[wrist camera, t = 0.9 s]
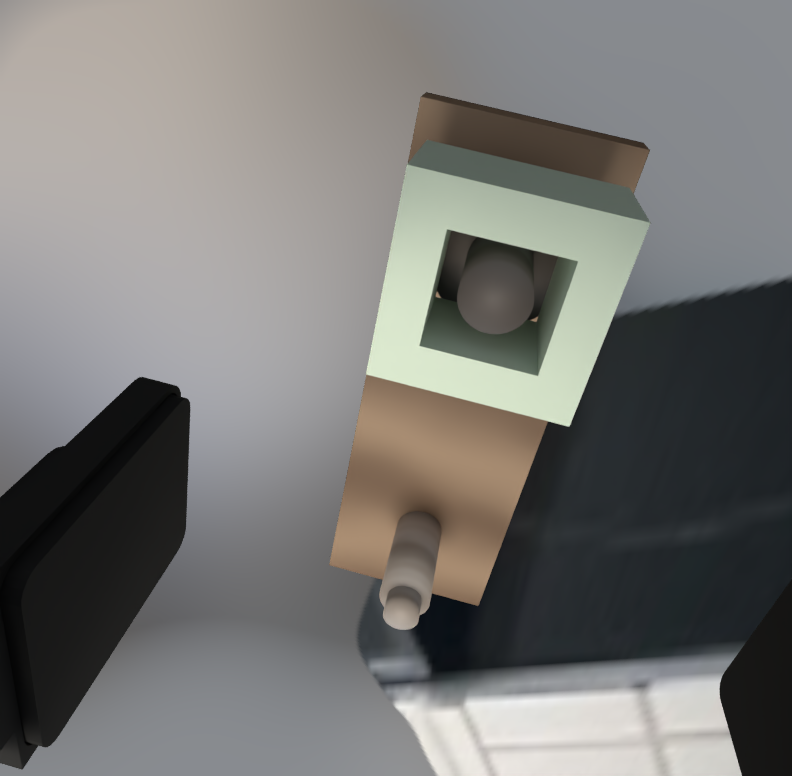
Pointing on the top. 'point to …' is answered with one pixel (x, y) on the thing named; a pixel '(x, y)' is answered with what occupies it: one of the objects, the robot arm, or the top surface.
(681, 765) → the top surface
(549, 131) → the board
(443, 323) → the collar
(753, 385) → the top surface
